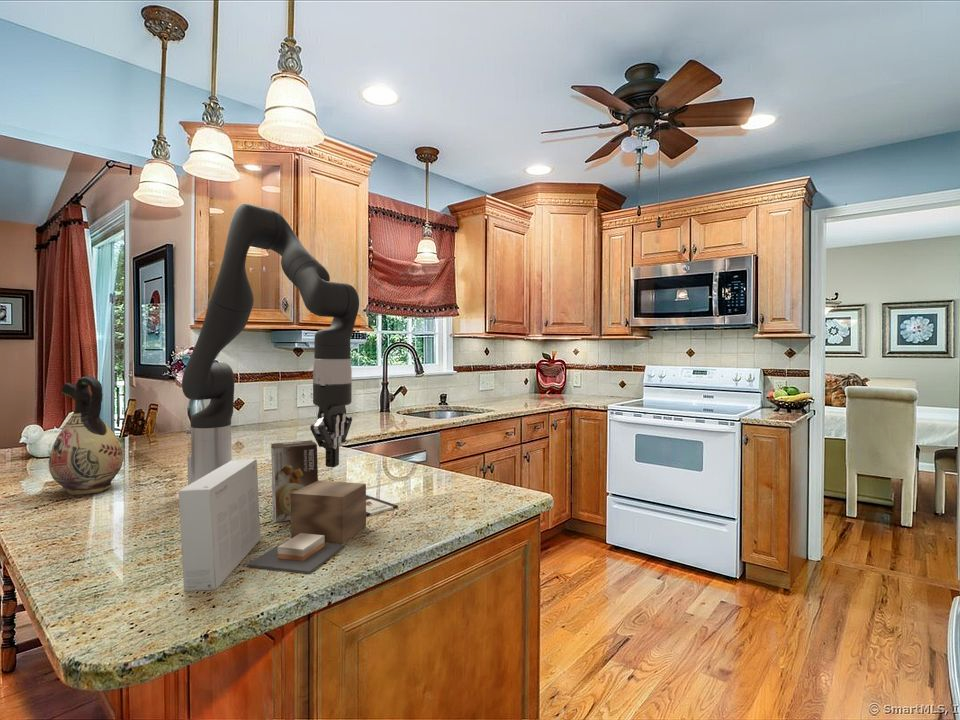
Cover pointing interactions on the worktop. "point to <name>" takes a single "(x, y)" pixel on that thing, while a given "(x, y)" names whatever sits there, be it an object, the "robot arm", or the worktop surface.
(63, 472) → the ceramic jug
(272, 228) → the robot arm
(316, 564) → the mat
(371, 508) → the chocolate bar
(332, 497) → the step
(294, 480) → the coffee box
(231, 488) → the skincare box
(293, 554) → the tile
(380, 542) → the worktop surface
